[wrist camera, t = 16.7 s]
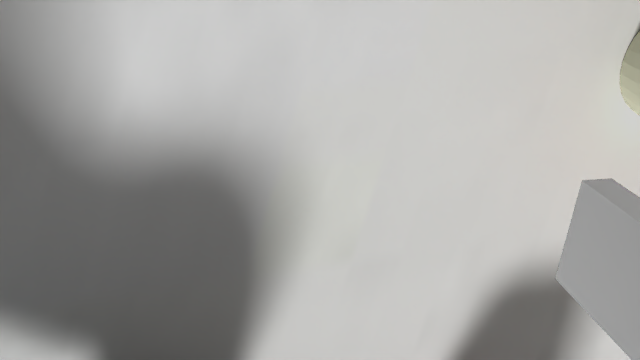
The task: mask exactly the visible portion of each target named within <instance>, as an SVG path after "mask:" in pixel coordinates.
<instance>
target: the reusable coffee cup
mask: <svg viewBox="0 0 640 360" xmlns="http://www.w3.org/2000/svg"><path fill="white" fill-rule="evenodd" d="M620 88H621V93H622V96H623V98H624V100H625V102H626V104H627V105H628V106H629V107H630V108H631V109H632V110H633V111H634V112H635V113H637V114H638V115H639V116H640V31H639V32H638V33H637V35H636V36H635V37H634V39H633V41H632V42H631V44H630V46H629V48H628V49H627V52H626V54H625V57H624V59H623V62H622V67H621V72H620Z"/></svg>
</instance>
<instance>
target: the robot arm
mask: <svg viewBox="0 0 640 360" xmlns="http://www.w3.org/2000/svg"><path fill="white" fill-rule="evenodd" d="M555 279H556V280H557V281H558V282H559V283H560V285H561V286H562V287H563V288H564V289H565V290H566V291H567V292H568V293H569V294H570V295H571V296H572V297H573V298H574V299H575V300H576V301H577V302H578V304H579V305H580V306H581V307H582V308H583V309H584V310H585V311H586V312H587V313H588V314H589V315H590V316H591V317H592V318H593V319H594V320H595V322H596V323H597V324H598V325H599V326H600V327H601V328H602V329H603V330H604V331H605V332H606V333H607V334H608V335H609V336H610V337H611V338H612V340H613V341H614V342H615V343H616V344H617V345H618V346H619V347H620V348H621V349H622V350H623V351H624V352H625V353H626V354H627V355H628V356H629V358H630V359H631V360H640V198H639V197H638V196H637V195H635V194H634V193H632V192H631V191H629V190H628V189H626V188H625V187H623V186H622V185H620V184H619V183H617V182H616V181H614V180H613V179H612V178H611V179H597V180H582V183H581V186H580V190H579V194H578V197H577V201H576V204H575V208H574V212H573V215H572V219H571V223H570V226H569V230H568V233H567V237H566V241H565V244H564V248H563V252H562V255H561V259H560V262H559V266H558V270H557V273H556V277H555Z"/></svg>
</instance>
